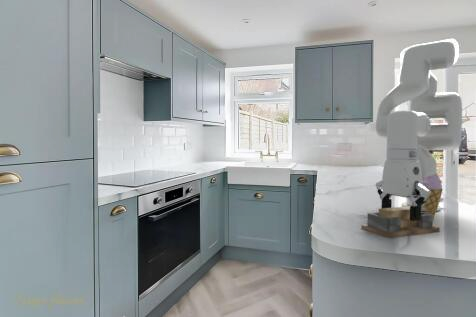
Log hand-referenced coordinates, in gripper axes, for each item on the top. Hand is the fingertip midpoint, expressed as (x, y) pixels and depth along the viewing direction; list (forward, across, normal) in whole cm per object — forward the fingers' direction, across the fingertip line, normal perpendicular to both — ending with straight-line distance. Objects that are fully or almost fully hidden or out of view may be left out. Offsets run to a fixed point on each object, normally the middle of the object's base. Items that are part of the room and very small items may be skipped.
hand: (400, 216), depth 86 cm
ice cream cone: (+4, +6, -19) cm, 20 cm away
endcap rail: (+4, 0, 0) cm, 4 cm away
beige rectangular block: (+3, 0, 0) cm, 3 cm away
